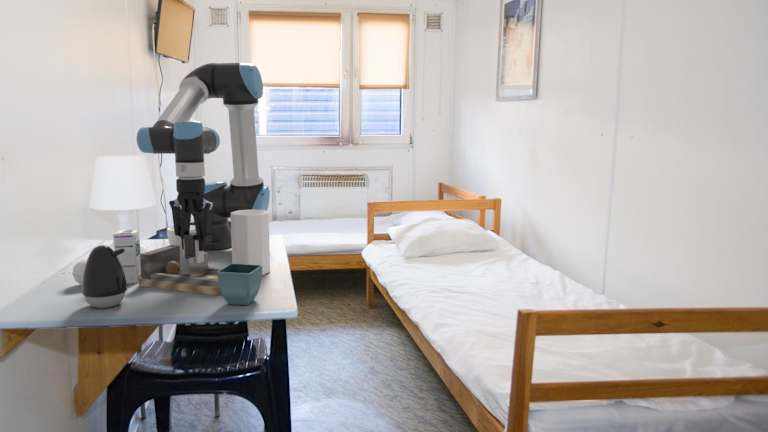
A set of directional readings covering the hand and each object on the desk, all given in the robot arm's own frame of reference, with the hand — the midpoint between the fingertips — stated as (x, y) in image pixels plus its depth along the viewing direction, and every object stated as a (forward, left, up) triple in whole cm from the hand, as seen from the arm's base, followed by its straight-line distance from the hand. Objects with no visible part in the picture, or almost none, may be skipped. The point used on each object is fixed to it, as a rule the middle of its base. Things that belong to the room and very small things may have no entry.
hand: (194, 261), depth 171 cm
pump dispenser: (+24, -9, -7) cm, 26 cm away
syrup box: (+4, -20, -7) cm, 21 cm away
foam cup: (-13, -14, -7) cm, 20 cm away
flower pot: (+10, +21, -7) cm, 25 cm away
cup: (-17, +7, -7) cm, 20 cm away
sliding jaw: (0, 0, -4) cm, 4 cm away
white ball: (+12, -29, -7) cm, 32 cm away
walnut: (0, -8, -3) cm, 8 cm away
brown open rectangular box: (0, -1, -7) cm, 7 cm away
